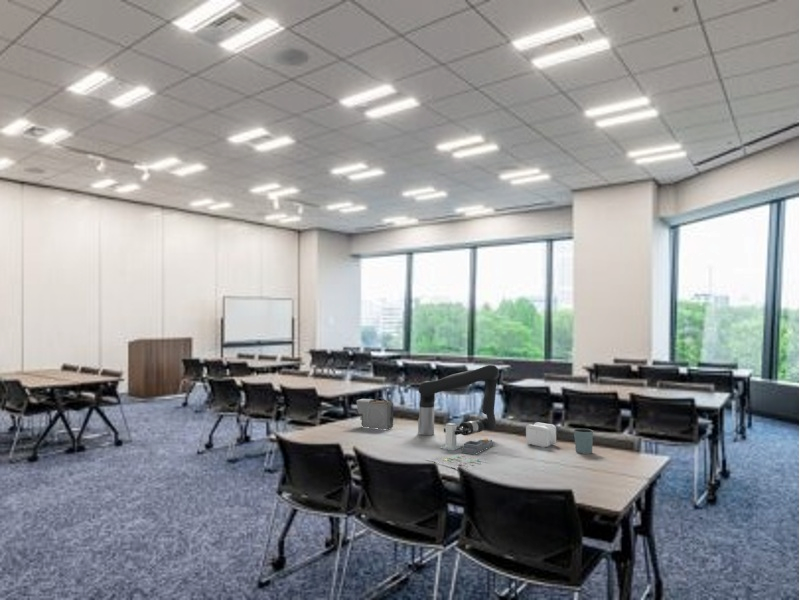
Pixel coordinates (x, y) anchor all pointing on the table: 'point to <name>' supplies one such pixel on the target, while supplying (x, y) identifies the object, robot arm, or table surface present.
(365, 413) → the grey boxy piece
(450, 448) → the mat
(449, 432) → the block
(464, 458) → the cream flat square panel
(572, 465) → the table surface
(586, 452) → the teal cup
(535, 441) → the cable organizer
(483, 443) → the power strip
